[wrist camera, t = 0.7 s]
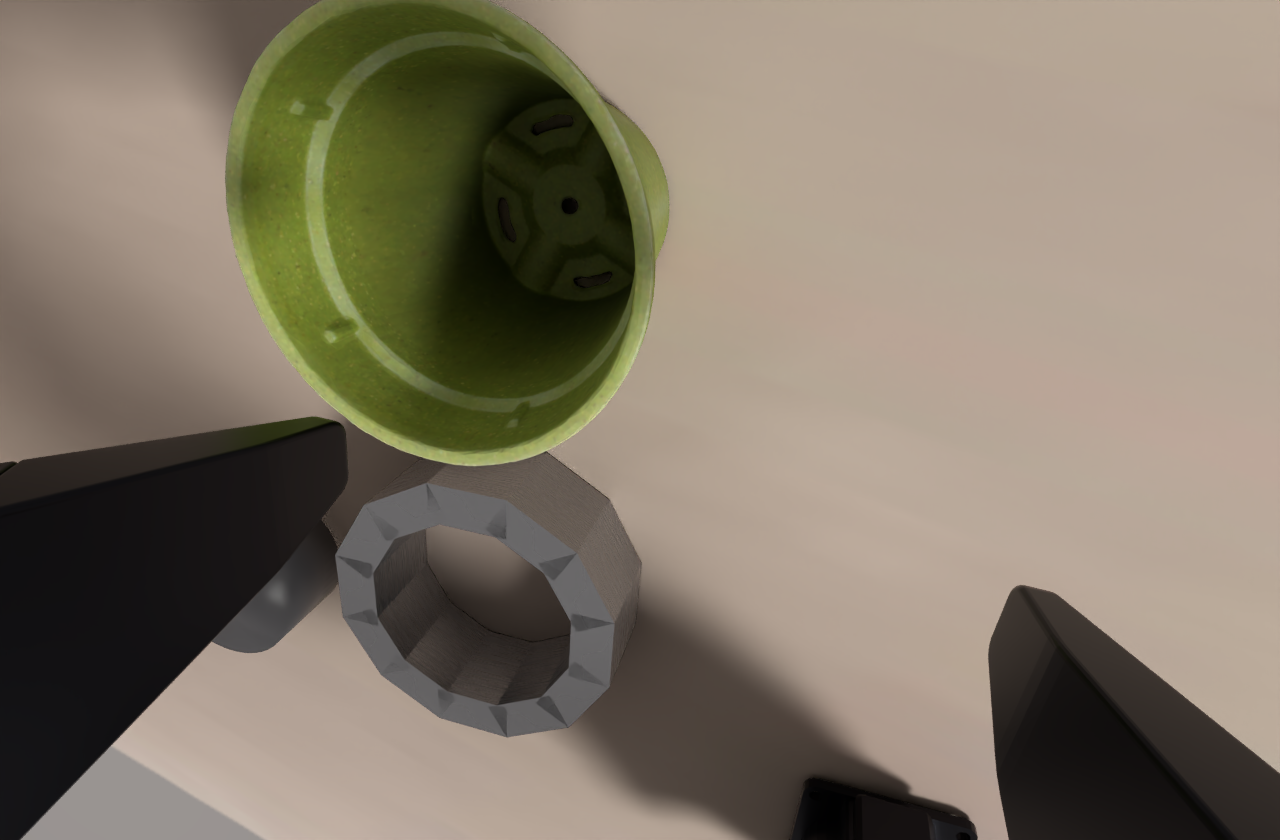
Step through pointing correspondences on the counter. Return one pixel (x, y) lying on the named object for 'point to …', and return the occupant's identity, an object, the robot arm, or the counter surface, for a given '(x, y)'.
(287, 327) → the plant pot
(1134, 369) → the counter surface
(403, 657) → the ring mount
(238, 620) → the cap
